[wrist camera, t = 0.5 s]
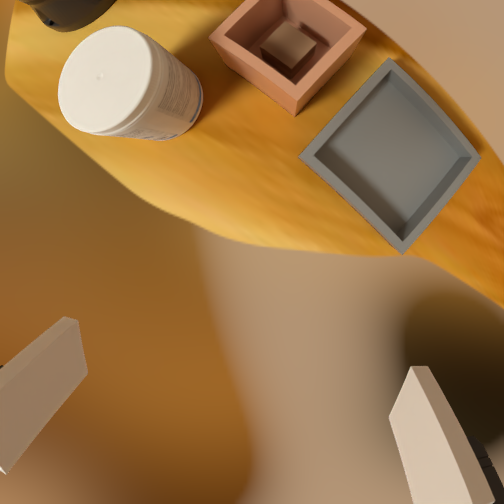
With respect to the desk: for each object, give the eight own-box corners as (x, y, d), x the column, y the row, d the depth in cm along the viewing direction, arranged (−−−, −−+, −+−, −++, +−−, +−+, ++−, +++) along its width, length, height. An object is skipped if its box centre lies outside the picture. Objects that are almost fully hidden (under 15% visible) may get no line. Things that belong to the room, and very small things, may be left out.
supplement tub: (169, 52, 32) (111, 3, 18) (222, 98, 33) (181, 59, 19) (116, 110, 34) (40, 92, 20) (164, 158, 36) (96, 158, 21)
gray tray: (297, 157, 34) (299, 156, 30) (379, 67, 30) (389, 57, 26) (391, 245, 35) (402, 254, 31) (464, 157, 31) (481, 157, 28)
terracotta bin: (226, 65, 32) (208, 37, 23) (281, 9, 29) (279, -29, 21) (294, 117, 33) (297, 101, 24) (349, 58, 30) (367, 28, 22)
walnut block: (262, 58, 30) (259, 46, 27) (285, 35, 29) (285, 21, 26) (291, 79, 31) (291, 68, 27) (313, 55, 30) (316, 43, 26)
